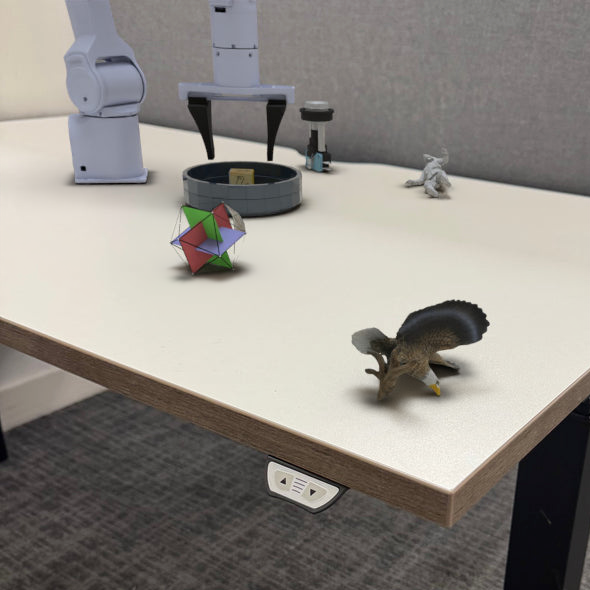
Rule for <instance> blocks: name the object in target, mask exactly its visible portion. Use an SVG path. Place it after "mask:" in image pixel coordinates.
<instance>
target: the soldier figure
mask: <svg viewBox="0 0 590 590" xmlns="http://www.w3.org/2000/svg"><path fill="white" fill-rule="evenodd" d="M441 154H443V157H441V158H438V157H435V156H432V155H430V154H428V153H427V154H426V153H425V154H422V158H423V160H424V163H425V165H424V168H423V170H422V172H421V173H420V177H419V178H418V179H407V180H406V181H405V183H404V184H405V185H406V184H407V186H408V187H409V186H421V185H423V187H424V190H425V191H426V193H427V194H428V196H432V197H434V198H438V197H440V194H439V192H438V191H437V190H438V189H439V188H440V187H441V186H443V185H444V186H446V187H447V188H451V187H452V183H451V181H450V180H449V178H448V175H447V173H446V170H443V166H446V165H447V164H448V163H449V159H450V158H449V152H448V149H447V148H444V147H443V148H441Z"/></svg>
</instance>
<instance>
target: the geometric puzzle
mask: <svg viewBox="0 0 590 590" xmlns="http://www.w3.org/2000/svg"><path fill="white" fill-rule="evenodd" d="M217 203H220V202H217ZM205 204H208V203H205ZM192 205H195V204H192ZM224 205H225V206H226V207H227V209H228V210H229V212H230V213H231V215H232V216H231V217H232V222H231V219H230V218H229V216H228V215H227V212H226V209H225V206H224ZM217 206H218V207H217ZM217 206H216V207H215V209H214V208H213V209H214V210H213V209H212V210H213V211H212V210H210V211H212V212H210V211H209V212H208V211H204V210H200V209H196V208H193V207H192V206H188V205H184V204H180V208H179V210H183V211H182V212H183V213H184V216H185V219H186V221H187V223H188V225H189V226H188V227H187V228H186V229H185V230H183V231H182V232H180V231H181V225H179V226H178V227H179V228H178V233H179V234H178V235H177V236H176V237H175V238H174V239H173V235H174V232H175V231H173V232H172V234H171V237H170V238H171V239H170V242H169V245H171V246H172V248H173V249H175V247H176V248H178V249H179V250H181V251H182V252H183V254H184V256H185V258H186V261H187V263H188V265H187V263H186V262H185V261H184V259H183V258H182V257H181V255H180V254H178V256H179V257H180V259H181V260H182V261H183V262H184V264H185V265H186V267H187V268H188V269H189V271H190V272H191V275H197V274H199V273H198V272H199V271H201V270H202V269H203V268H205V267H206V266H208V265H210V264H212V265H214V266H215V265H216V266H219V267H222V268H227V269H229V271H232V270H233V271H234V270H235V267H236V263H237V260H238V257H239V256H237V258H236V259H235V260H236V262H235V261H231V259H230V255H229V253H228V251H229V250H230V248H231V247H232V246H233V253H235V250H236V249H235V248H236V243H238V241H239V240H240V239H241V238H243V241H242V242H244V240H245V237H246V235H247V234H248V231H246V225H245V222H244V220H243V218H242V217H241V216H240V214H239V213H237V212H236V211H235V210H233V209H232V208H230V207H229V206H228V205H226V204H225V203H223V202H222V203H220V204H219V205H217ZM181 218H182V213H181V211H179V213H178V215H177V219H176V220H178V219H179V222H181V220H182V219H181ZM175 222H176V223H175V226H174V229H173V230H175V229H176V226H177V221H175ZM175 253H178V251H177V250H175ZM232 262H233V264H232ZM222 271H223V272H224V269H222V270H220V272H222ZM214 272H216V270H214V271H212V273H214ZM204 273H207V271H205V272H203V274H204Z"/></svg>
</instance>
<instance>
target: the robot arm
mask: <svg viewBox="0 0 590 590" xmlns="http://www.w3.org/2000/svg"><path fill="white" fill-rule="evenodd" d="M207 1H208V6H209V20H210V21H209V22H210V37H211V55H212V56H211V57H212V69H213V82H183V81H182V82H179V83H178V84H177V90H178V91H177V92H178V100H179V101H187V105H186V106H187V109H188V111H189V114H190V116H191V117H192V119H193V121H194V123H195V125H196V127H197V129H198V131H199V133H200V136H201V138H202V142H203V145H204V149H205V151H206V157H207V160H208V161H214V159H215V157H216V153H215V152H216V151H215V143H214V135H213V121H212V117H213V116H212V115H213V114H212V101H220V102H221V101H223V102H249V103H250V102H251V103H254V102H256V103H267V104H266V106H265V113H266V114H265V115H266V130H267V141H266V142H267V143H266V162H273V160H274V149H275V143H276V139H277V135H278V131H279V128H280V126H281V123H282V120H283V118H284V115H285V113H286V110H287V104H289V105H295V103H296V90H295V87H296V86H295V85H278V84H265V83H260V80H261V79H260V55H259V54H260V53H259V29H258V0H207ZM64 3H65V6H66V10H67V11H66V12H67V14H68V18H69V22H70V25H71V29H72V33H73V37H74V41H73V43H72V44H71V46H70V47H69V48H68V49H67V51H66V52H65V54H64V55H63V61H64V65H65V69H66V76H65V77H66V79H65V85H66V91H67V94H68V97H69V99H70V101H71V102H72V104H73V105H74V107H75V108H77V109H78V113H69V114H68V117H67V127H68V138H69V143H70V144H69V145H70V152H71V159H72V167H73V172H74V183H75V184H119V183H120V184H121V183H122V184H123V183H124V184H127V183H129V184H131V183H137V184H138V183H146V182H147V179H148V175H149V168H147V167H144V158H143V151H142V150H143V149H142V142H141V141H142V140H141V130H140V123H139V122H140V121H139V114H138V113H139V112H141V110H142V109H141V104H143V102H145V100H146V97H147V94H148V93H147V92H148V84H147V80H146V76H145V74H144V72H143V70H142V69H141V67H140V66H139V64H138V62H137V59H136V56H135V52H134V49H133V48H132V47H131V46H130V45H129V44H128V43H127V42H125V40H123V39H122V38H121V37H120V36H119V35H118V33H117V28H116V24H115V21H114V16H113V13H112V8H111V4H110V0H64ZM99 60H100V61H103V62H97V61H99ZM232 95H233V96H232ZM236 95H237V96H236ZM245 95H247V96H245ZM248 95H249V96H248ZM250 95H251V96H250Z"/></svg>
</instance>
